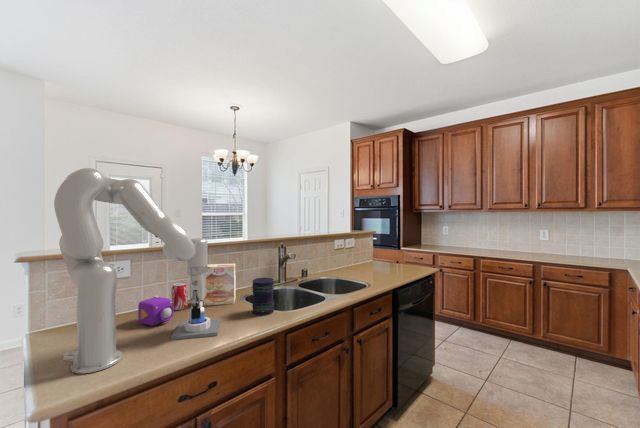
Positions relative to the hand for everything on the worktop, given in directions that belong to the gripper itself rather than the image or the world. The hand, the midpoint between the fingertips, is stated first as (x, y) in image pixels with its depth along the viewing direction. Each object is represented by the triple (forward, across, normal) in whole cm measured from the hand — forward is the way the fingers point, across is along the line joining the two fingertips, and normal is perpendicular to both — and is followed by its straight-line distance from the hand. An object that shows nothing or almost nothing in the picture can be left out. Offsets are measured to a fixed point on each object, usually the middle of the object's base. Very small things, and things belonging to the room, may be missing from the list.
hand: (197, 314), depth 115 cm
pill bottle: (+5, 0, 0) cm, 5 cm away
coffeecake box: (+6, +34, -5) cm, 35 cm away
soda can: (+6, +29, +13) cm, 32 cm away
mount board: (+6, 0, 0) cm, 6 cm away
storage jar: (+6, +15, -26) cm, 31 cm away
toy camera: (+7, +13, +18) cm, 23 cm away
